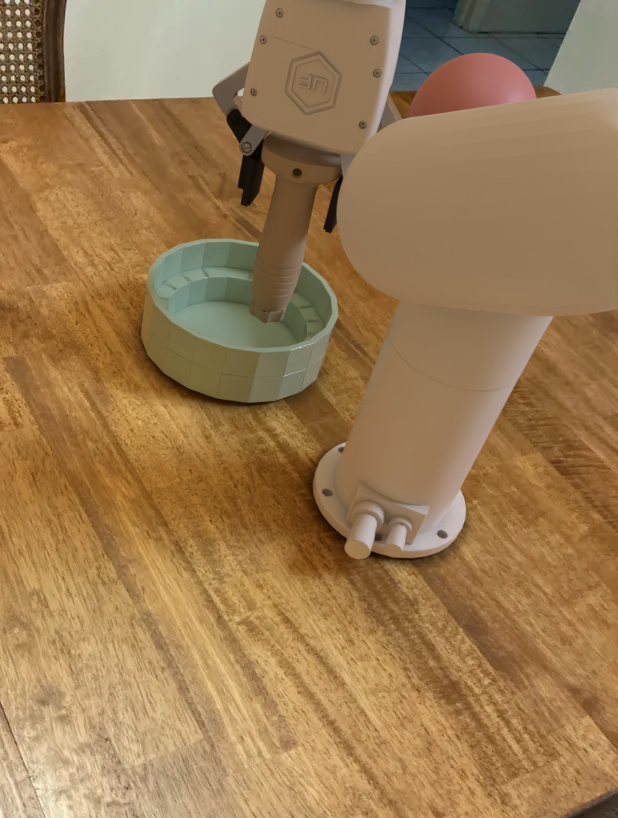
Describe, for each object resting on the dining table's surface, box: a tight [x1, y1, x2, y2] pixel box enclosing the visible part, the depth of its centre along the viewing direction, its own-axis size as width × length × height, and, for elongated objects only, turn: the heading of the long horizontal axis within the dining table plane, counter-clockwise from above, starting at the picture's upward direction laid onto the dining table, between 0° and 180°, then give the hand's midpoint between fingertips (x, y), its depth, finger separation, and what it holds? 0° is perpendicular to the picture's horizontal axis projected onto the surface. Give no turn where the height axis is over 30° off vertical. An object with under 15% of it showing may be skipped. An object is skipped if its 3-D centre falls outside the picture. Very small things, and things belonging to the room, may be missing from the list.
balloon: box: [406, 52, 538, 118], centre depth 106 cm, size 15×20×15 cm
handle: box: [250, 132, 342, 323], centre depth 73 cm, size 5×6×15 cm
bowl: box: [140, 238, 339, 404], centre depth 80 cm, size 17×17×6 cm
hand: (290, 210), depth 71 cm, fingers closed on handle, 6 cm apart
